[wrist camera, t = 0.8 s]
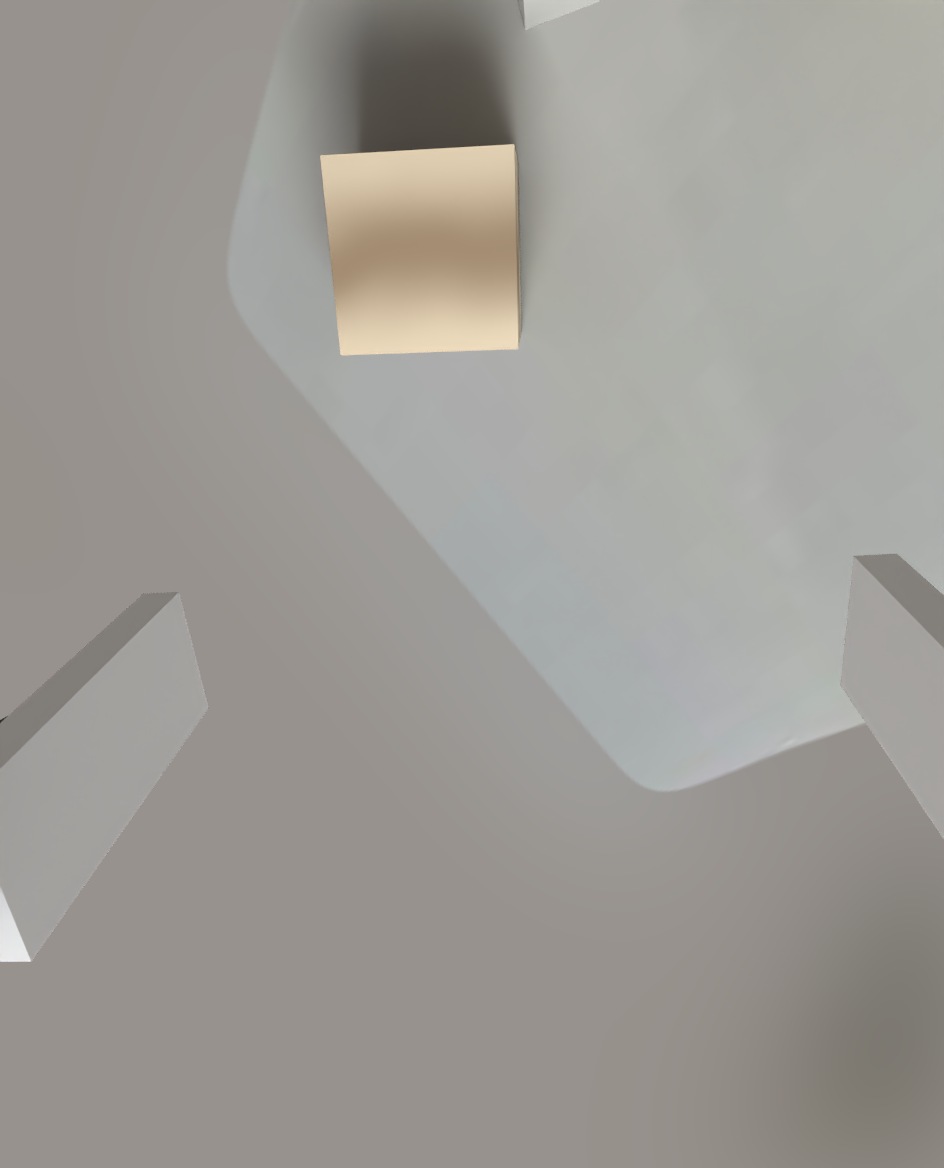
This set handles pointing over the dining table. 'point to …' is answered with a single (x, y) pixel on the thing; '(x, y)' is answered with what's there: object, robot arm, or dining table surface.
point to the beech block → (425, 249)
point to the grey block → (548, 10)
